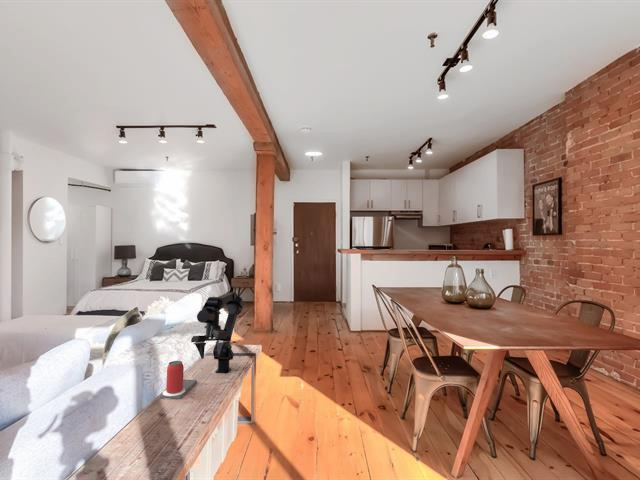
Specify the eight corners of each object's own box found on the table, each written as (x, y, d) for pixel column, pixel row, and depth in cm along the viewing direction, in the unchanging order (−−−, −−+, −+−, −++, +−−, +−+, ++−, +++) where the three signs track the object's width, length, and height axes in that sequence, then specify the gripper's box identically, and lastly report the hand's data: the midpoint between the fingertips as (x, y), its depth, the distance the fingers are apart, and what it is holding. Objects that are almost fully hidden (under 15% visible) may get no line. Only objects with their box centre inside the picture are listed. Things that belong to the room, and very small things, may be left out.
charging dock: (178, 381, 159) (178, 378, 159) (197, 382, 159) (197, 379, 159) (158, 399, 140) (158, 395, 141) (179, 399, 140) (180, 396, 140)
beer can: (172, 395, 141) (173, 366, 141) (162, 391, 144) (163, 363, 144) (186, 390, 146) (187, 362, 147) (176, 386, 150) (177, 359, 150)
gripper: (206, 322, 150) (204, 359, 146) (239, 322, 165) (238, 356, 160) (191, 323, 156) (189, 359, 152) (224, 324, 171) (222, 356, 166)
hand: (211, 358), depth 157 cm, fingers open, 9 cm apart
